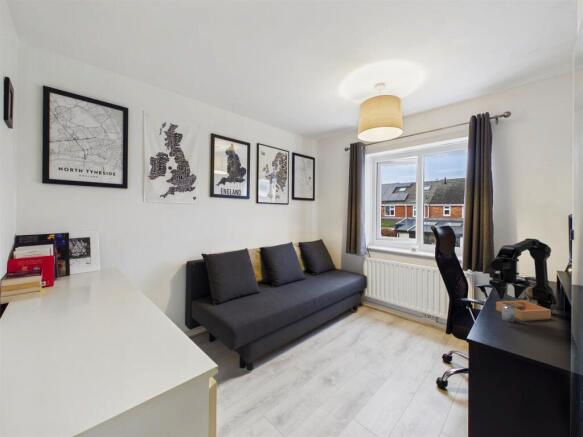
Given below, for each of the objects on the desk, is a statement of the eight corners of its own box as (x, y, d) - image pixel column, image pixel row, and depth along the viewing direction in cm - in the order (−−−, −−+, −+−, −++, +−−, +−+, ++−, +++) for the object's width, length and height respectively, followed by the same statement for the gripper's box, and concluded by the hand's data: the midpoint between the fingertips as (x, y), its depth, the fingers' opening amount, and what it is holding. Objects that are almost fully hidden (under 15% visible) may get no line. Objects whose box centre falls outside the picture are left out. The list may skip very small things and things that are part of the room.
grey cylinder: (506, 317, 133) (506, 304, 132) (516, 321, 128) (517, 308, 128) (499, 318, 131) (499, 305, 131) (509, 322, 127) (510, 309, 126)
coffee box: (523, 301, 157) (524, 276, 157) (532, 301, 158) (533, 276, 157) (539, 306, 148) (539, 280, 148) (548, 306, 149) (549, 280, 148)
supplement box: (527, 299, 162) (527, 280, 161) (514, 298, 163) (514, 279, 163) (519, 295, 169) (519, 277, 169) (507, 294, 170) (507, 276, 170)
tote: (522, 308, 145) (523, 300, 145) (550, 319, 131) (550, 309, 131) (496, 310, 142) (496, 301, 142) (521, 320, 128) (522, 311, 128)
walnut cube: (515, 311, 139) (515, 302, 139) (524, 315, 134) (525, 306, 134) (507, 311, 138) (508, 303, 138) (516, 315, 133) (517, 306, 133)
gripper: (509, 266, 138) (508, 293, 139) (480, 266, 136) (479, 294, 136) (531, 270, 127) (530, 300, 128) (499, 271, 125) (499, 301, 125)
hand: (508, 298), depth 129 cm, fingers open, 9 cm apart
